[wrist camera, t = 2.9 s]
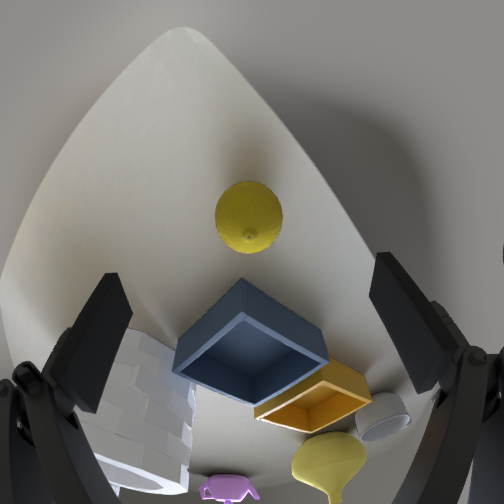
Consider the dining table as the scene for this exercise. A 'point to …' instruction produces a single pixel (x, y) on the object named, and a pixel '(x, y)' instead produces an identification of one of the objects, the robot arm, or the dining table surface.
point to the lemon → (248, 217)
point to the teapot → (227, 488)
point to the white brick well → (143, 419)
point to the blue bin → (249, 347)
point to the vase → (329, 462)
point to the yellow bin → (317, 399)
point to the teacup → (381, 417)
